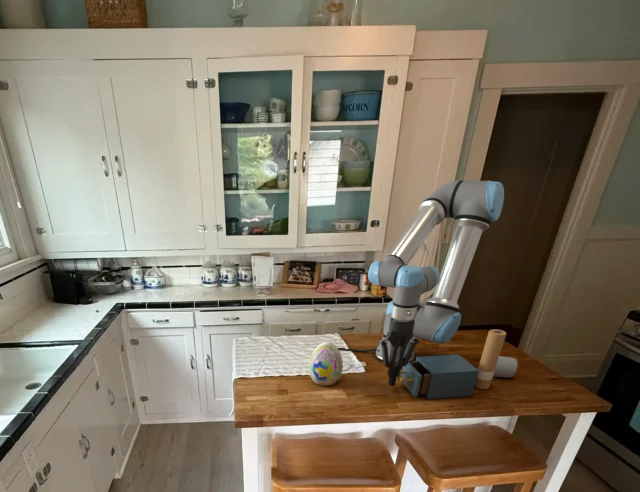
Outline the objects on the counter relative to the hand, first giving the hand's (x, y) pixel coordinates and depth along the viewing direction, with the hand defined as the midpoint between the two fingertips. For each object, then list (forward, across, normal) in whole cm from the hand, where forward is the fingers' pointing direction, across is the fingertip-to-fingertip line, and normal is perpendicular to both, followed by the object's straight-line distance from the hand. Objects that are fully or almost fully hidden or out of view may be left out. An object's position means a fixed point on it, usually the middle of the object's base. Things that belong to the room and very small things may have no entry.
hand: (391, 384), depth 148 cm
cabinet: (+3, +18, 0) cm, 19 cm away
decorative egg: (+3, -21, +11) cm, 24 cm away
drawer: (+2, +11, 0) cm, 11 cm away
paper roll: (+3, +33, 0) cm, 33 cm away
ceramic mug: (+3, +44, +8) cm, 45 cm away
